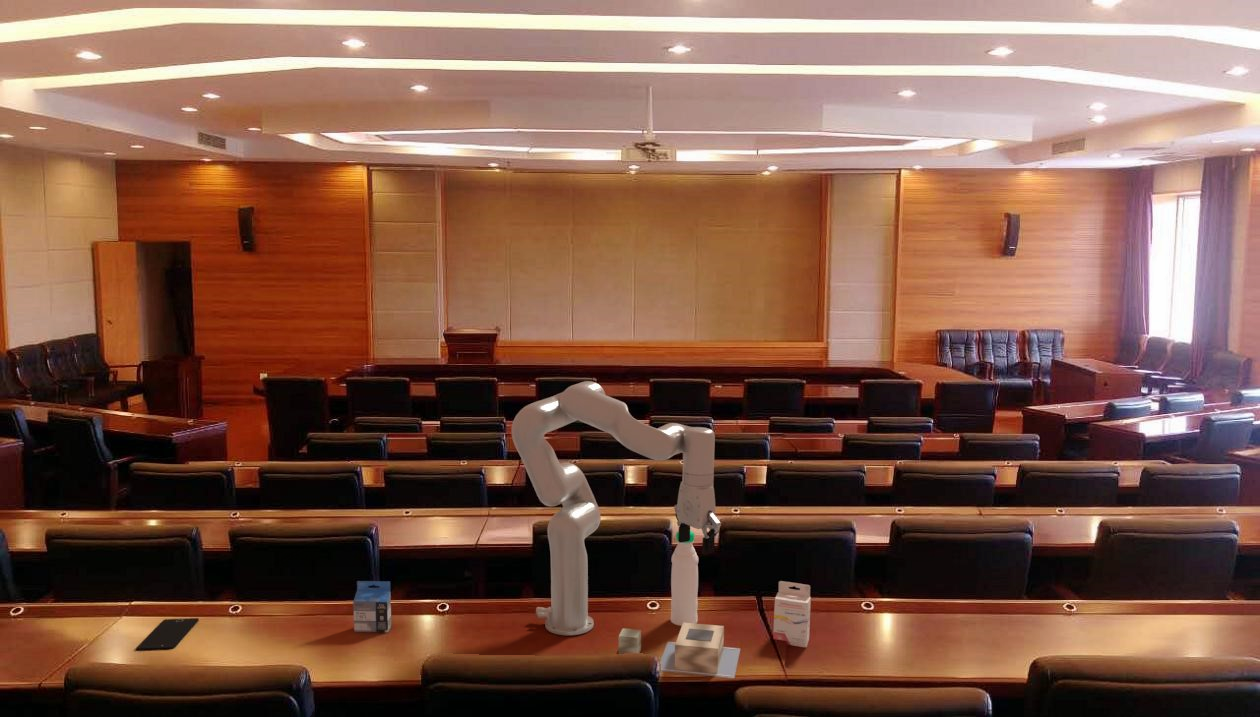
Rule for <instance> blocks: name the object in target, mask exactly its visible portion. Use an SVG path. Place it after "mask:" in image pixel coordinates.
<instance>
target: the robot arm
mask: <svg viewBox="0 0 1260 717" xmlns="http://www.w3.org/2000/svg"><path fill="white" fill-rule="evenodd" d="M576 421H578V422H581V423H584V424H587V425H589V426H591V427H594V428H596V429H598V430H600V431H603V432H605V433H608V434H610V435H611V436H612V437H613V438H614V439H615V440H616V441H617V442H619V443H620V444H621V445H622V446H624V448H626V449H628V450H630V451H632V452H634V453H636V454H638V455H641V456H644V457H645V458H648V459H652V460H655V461H666V460H669V459H670V458H672V457H673V456H675V455H678V454H681V453H682V481H680V483H679V484H680V485H679V489H678V494H677V502H676V503H677V504H675V505H674V506H673V509H674V512H675V518H676V520H677V522H676V525H677V526H678V531H679V533H678V542H680V543H682V542H687V541H690V531H691V528H693V529H695V530H701V532H702V534H703V536H704V537H702V546H701V547H702V551H701V552H702V554H703V555H708V554H713V553H715V542H716V540H715V538H716V537H717V535H718V534H719V533H720V532H719V531H720V528H721V526H722V523H721V522H720V520H719V519H718V517H717V516H716V497H715V496H716V495H715V488H714V480H715V479H714V478H715V477H714V475H715V472H714V471H715V470H714V469H715V468H714V467H715V445H716V444H715V442H716V439H715V438H716V436H715V432H714V430H712V429H710V428H707V427H701V426H688V425H684V424H680V423H676V422H669V423H666V424H664V425H662V426H659V427H658V428H656V427H653V426H651V425H648V424H646V423H643V422H641V421H640V420H638V419H636V418H634V417H633V416H632V415H631V413H630V412H629V407H628V405H627V404H626V402H624V401H621V400H619V399H616V398H613V397H612V396H609V395H606V392H605V390H604V388H603V387H602V386H601V385H600V384H599V383H597V382H594V381H592V380H590V381H589V380H584V381H582V382H579V383H576V384H572V385H570V386H568V387H567V388H566V389H565V390H563V391H562V392H560V393H557V394H555V395H553V396H552V395H551V396H550V397H546V398H543V399H541V400H537V401H534V402H532V403H530V404H527V405H525V406H523V408H521V409H520V410H519V411H518V413H516V415H515V417H514V418H513V422H512V423H511V424H512V425H511V440H512V441H513V444H514V447H515V449H516V451H517V452H518V454H519V456H520V458H521V461H522V464H523V465H524V468H525V470H526V473H527V475H528V477H529V478H528V479H530V482H531V484H532V487H533V488H534V491H535V493H536V496H537V497H538V500H539V502H540V503H542V504H543V505H544V506H546V507H556V506H559V505H562V507H563V508H561V509H560V510H558V511H556V512H555V513H554V514H553V515H552V517H551V518H550V519H549V522H548V525H547V540H548V544H549V551H550V581H551V582H550V595H551V596H550V597H551V598H550V599H551V600H550V602H551V603H550V604H551V605H550V606H548V607H542V606H537V607H536V609H535V615H537V618H539V619H546V620H545V622H544V624H545V629H546V630H547V632H549V633H552V634H554V635H557V636H558V635H560V636H577V635H582V634H585V633H588V632H589V631H591V630H592V629H593V628H594V618H592V617H591V616H589V612H588V611H589V600H588V599H589V596H588V595H589V593H588V592H589V584H588V583H589V581H588V580H589V576H588V573H589V572H588V570H589V569H588V567H589V565H588V553H587V549H586V546H585V539H586V538H587V537H589V536H590V535H592V534H593V533H594V532H595V531H597V529H598V528H599V526H600V523H601V518H602V517H601V511H600V508H599V505H598V503H597V501H596V498H595V495H594V493H593V491H592V489H591V487H590V485H589V483H588V480H587V478H586V476H585V474H584V472H583V471H582V470H581V469H580V467H578V466H577V465H575V464H574V463H571V462H567V461H566V462H560V461H559V459H558V457H557V455H556V453H555V450H554V448H553V447H552V445H551V444H550V443H549V442H548V440H546V438H545V435H546V434H547V433H550V432H553V431H555V430H558V429H559V428H560V429H561V428H563V427H564V426H567V425H569V424H572V423H574V422H576ZM708 530H709V531H708Z"/></svg>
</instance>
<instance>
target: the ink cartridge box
mask: <svg viewBox="0 0 1260 717" xmlns="http://www.w3.org/2000/svg"><path fill="white" fill-rule="evenodd" d="M793 587H795V588H796V589H793ZM811 600H812V597H811V585H809V584H803V583H797V582H791V581H783V580H779V581H778V592H777V593H776V595H775V598H774V606H773V607H774V610H773V631H772V632H773V634H772V635H773V636H772V639H773V640H778V641H785V642H786V645H787V646H792V647H793V646H794V647H800V648H807V647H808V644H809V641H810V627H811V624H810V622H811Z"/></svg>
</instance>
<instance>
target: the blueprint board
mask: <svg viewBox="0 0 1260 717" xmlns="http://www.w3.org/2000/svg"><path fill="white" fill-rule="evenodd" d="M675 643H676V641H674V642H673V641H667V643H666V645H665V648H664V651H663V654H662V655H661V658H660V661H659V663H660V664H661V671H660V672H668V673H674V674H675V673H677V674H684V675H685V674H688V675H697V676H705V677H706V676H707V677H716V678H717V677H718V678H728V679H735V676H736V672H737V667H738V663H739V657H740V654H741V648H738V647H728V646H724V647H723V653H722V657H721V661H720V666H719V670H718V673H708V672H697V671H687V670H677V669H675Z"/></svg>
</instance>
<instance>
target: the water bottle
mask: <svg viewBox="0 0 1260 717" xmlns="http://www.w3.org/2000/svg"><path fill="white" fill-rule="evenodd" d="M678 533H679V530H678V531H677V532H676V534H675V539H676V543H677V546H676V547H675V548H674V551H673V553H672V555H671V559H670V560H671V563H672V564H671V573H670V574H671V575H670V576H671V577H670V587H671V590H670V591H671V599H670V608H671V609H670V610H671V612H670V622H671V623H672V624H674V625H675V626H676V625H677V626H681V627H682V624H683V622H684V623H695V624H698V606H699V605H698V604H699V603H698V601H699V600H698V592H699V590H698V589H699V566H698V564H699V556H698V555H697V552H696V549H695V547H694V546H693V543H694V542H695V533H694V531H692V530H690V541H687V542H682V543H680V542H678Z"/></svg>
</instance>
